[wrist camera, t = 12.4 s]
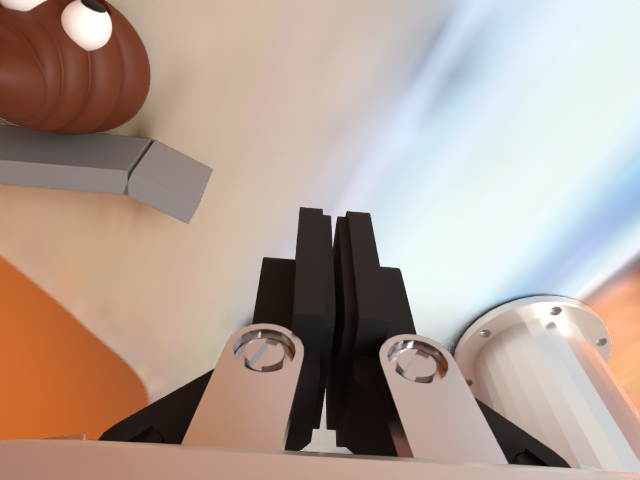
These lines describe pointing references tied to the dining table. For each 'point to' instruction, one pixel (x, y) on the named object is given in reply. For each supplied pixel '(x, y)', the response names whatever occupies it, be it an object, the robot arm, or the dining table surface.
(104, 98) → the poop emoji
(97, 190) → the grey tray
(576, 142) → the dining table surface
